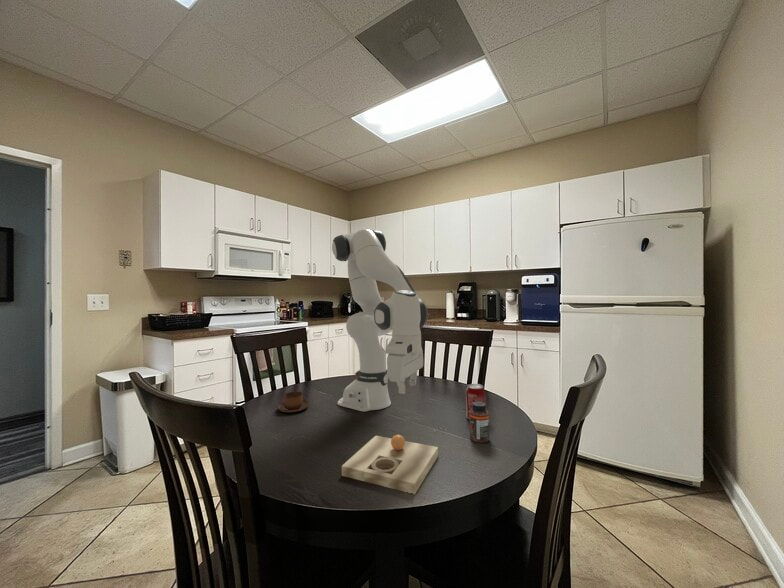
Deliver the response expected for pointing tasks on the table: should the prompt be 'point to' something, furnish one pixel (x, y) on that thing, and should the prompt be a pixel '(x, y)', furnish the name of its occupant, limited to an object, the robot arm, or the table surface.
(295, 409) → the cup and saucer
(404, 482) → the light wooden flat slab
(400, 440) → the ball
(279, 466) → the table surface
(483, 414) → the supplement bottle
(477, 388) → the soda can
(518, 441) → the table surface
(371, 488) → the table surface
